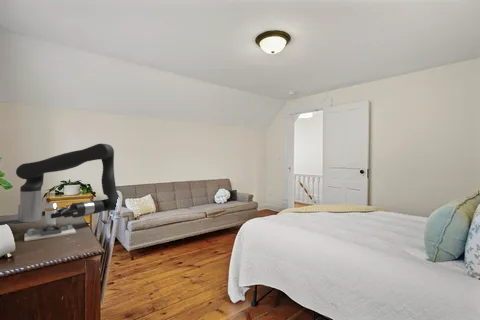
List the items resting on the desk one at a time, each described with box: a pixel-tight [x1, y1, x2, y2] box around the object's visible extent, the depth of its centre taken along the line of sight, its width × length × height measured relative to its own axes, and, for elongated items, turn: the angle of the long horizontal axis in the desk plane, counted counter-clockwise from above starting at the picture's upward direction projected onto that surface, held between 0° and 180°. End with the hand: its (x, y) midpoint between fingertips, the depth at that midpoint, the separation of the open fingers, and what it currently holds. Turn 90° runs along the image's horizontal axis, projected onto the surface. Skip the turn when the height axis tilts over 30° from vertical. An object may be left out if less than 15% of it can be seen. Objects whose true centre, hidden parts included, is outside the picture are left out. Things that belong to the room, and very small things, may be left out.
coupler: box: [44, 202, 58, 232], centre depth 118 cm, size 5×5×14 cm
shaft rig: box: [23, 223, 77, 242], centre depth 118 cm, size 19×11×3 cm, turn 131°
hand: (46, 214), depth 116 cm, fingers open, 8 cm apart
